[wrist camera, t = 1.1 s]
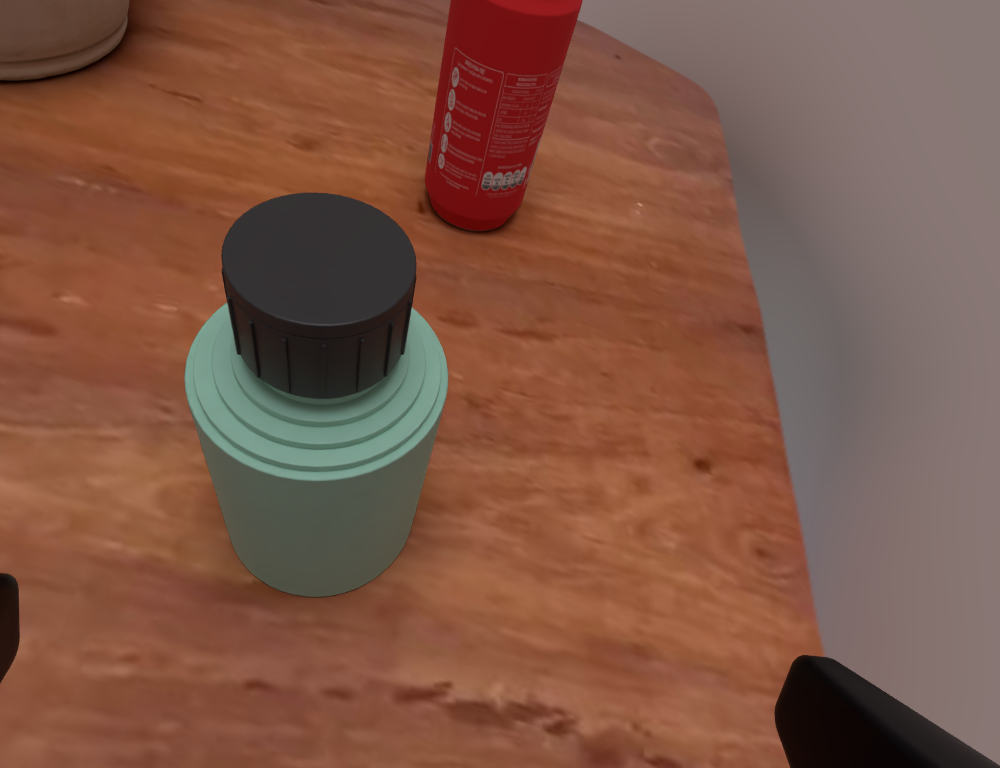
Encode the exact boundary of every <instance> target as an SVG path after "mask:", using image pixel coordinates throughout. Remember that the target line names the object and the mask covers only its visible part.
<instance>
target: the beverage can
mask: <svg viewBox="0 0 1000 768" xmlns="http://www.w3.org/2000/svg"><path fill="white" fill-rule="evenodd" d="M581 4H582V0H451V4H450V10H449V17H448V24H447V31H446V37H445V44H444V51H443V58H442V65H441V71H440V78H439V85H438V92H437V99H436V105H435V112H434V119H433V126H432V133H431V139H430V146H429V153H428V160H427V167H426V173H425V184H426V188H427V190H428V193H429V195H430V203H431V205H432V208H433V209H434V211H435V212H436V213H437V215H438V216H439V217H440V218H442V219H443V220H444V221H446V222H447V223H449V224H451V225H453V226H455V227H458V228H460V229H464V230H468V231H476V232H483V231H490V230H494V229H497V228H499V227H501V226H502V225H503V224H505V223H506V222H507V220H508V219H509V216H510V215H512V214H513V213H514V212H515V211H516V210H517V209H518V208H519V206H520V205H521V202H522V199H523V196H524V193H525V189H526V186H527V183H528V180H529V176H530V173H531V170H532V166H533V163H534V160H535V156H536V153H537V150H538V147H539V143H540V140H541V137H542V133H543V130H544V127H545V123H546V120H547V117H548V113H549V110H550V107H551V104H552V100H553V97H554V94H555V90H556V87H557V84H558V80H559V77H560V74H561V71H562V67H563V64H564V61H565V57H566V54H567V51H568V47H569V44H570V41H571V37H572V34H573V31H574V28H575V24H576V21H577V18H578V14H579V11H580V8H581Z"/></svg>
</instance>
